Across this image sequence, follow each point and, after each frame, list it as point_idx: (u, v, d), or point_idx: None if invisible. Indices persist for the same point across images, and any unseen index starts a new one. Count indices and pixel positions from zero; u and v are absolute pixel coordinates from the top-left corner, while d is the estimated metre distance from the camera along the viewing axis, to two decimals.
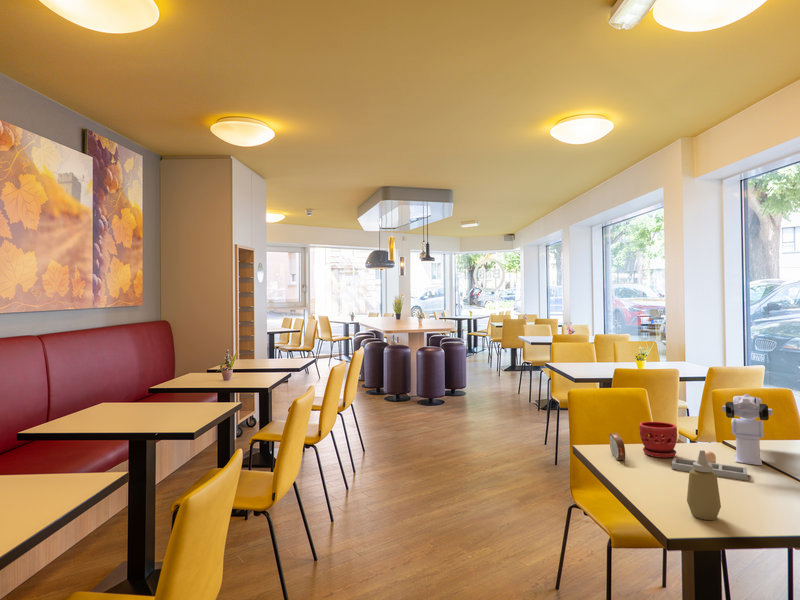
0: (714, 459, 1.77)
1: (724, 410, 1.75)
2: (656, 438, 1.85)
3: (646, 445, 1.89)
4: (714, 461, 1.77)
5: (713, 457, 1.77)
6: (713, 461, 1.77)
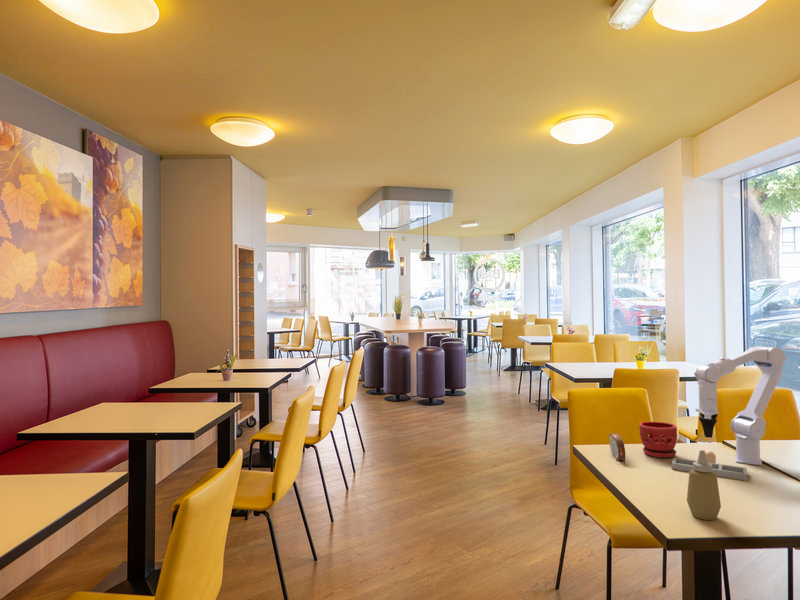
0: (714, 459, 1.77)
1: None
2: (656, 438, 1.85)
3: (646, 445, 1.89)
4: (714, 461, 1.77)
5: (713, 457, 1.77)
6: (713, 461, 1.77)
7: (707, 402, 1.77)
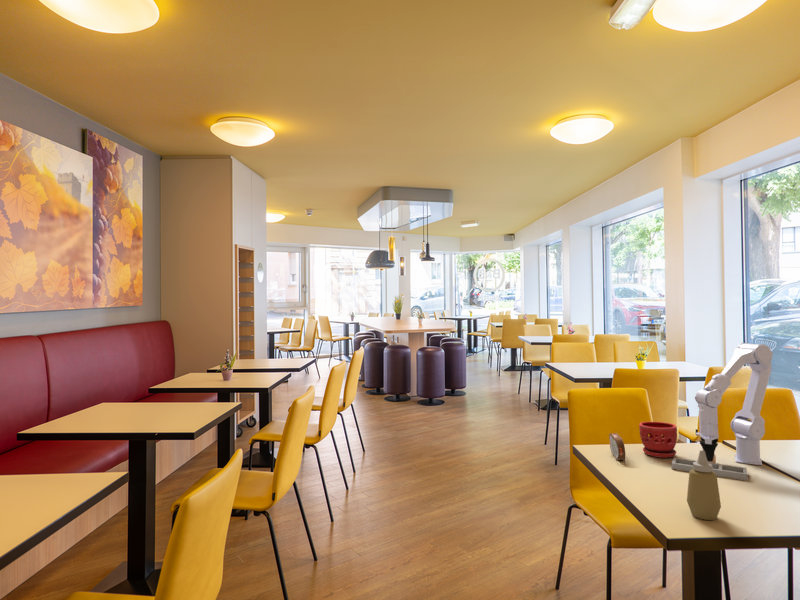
0: (714, 459, 1.77)
1: None
2: (656, 438, 1.85)
3: (646, 445, 1.89)
4: (714, 461, 1.77)
5: (713, 457, 1.77)
6: (713, 461, 1.77)
7: (707, 427, 1.77)
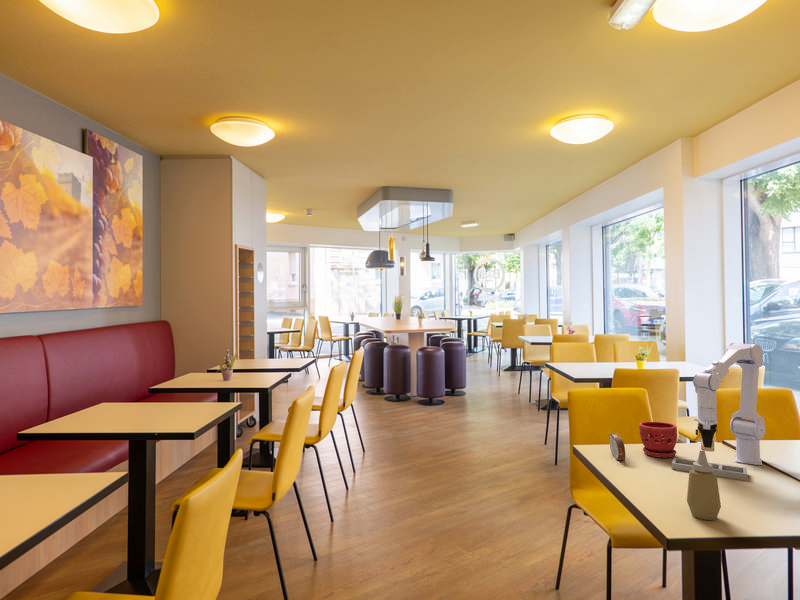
0: (713, 445, 1.68)
1: None
2: (656, 438, 1.85)
3: (646, 445, 1.89)
4: (713, 447, 1.68)
5: (712, 443, 1.68)
6: (711, 447, 1.68)
7: (706, 412, 1.68)
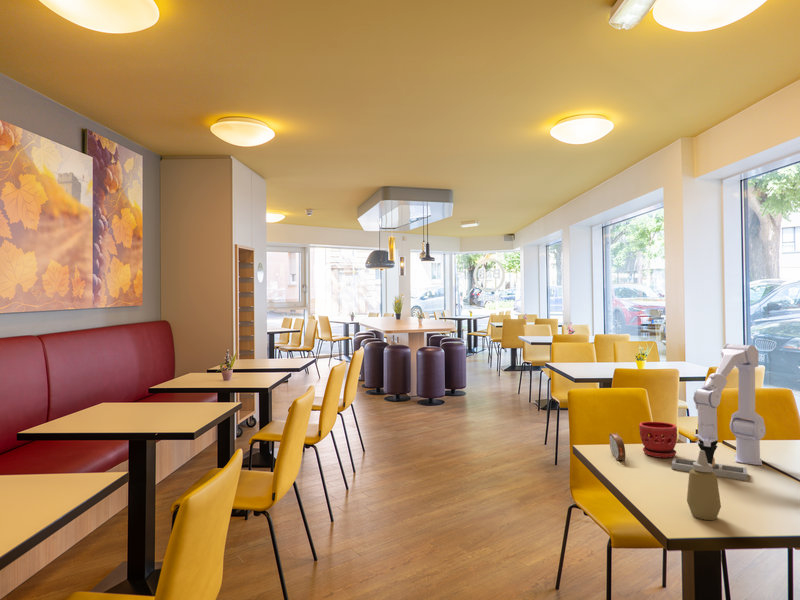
0: (713, 462, 1.68)
1: None
2: (656, 438, 1.85)
3: (646, 445, 1.89)
4: (713, 464, 1.68)
5: None
6: (712, 464, 1.68)
7: (706, 428, 1.68)
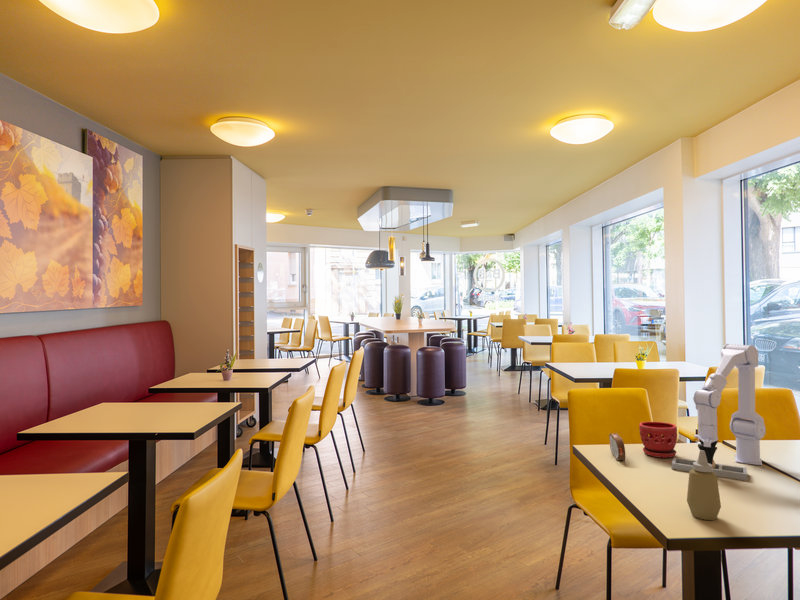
0: (713, 465, 1.68)
1: None
2: (656, 438, 1.85)
3: (646, 445, 1.89)
4: (713, 467, 1.68)
5: (712, 463, 1.68)
6: None
7: (706, 429, 1.68)
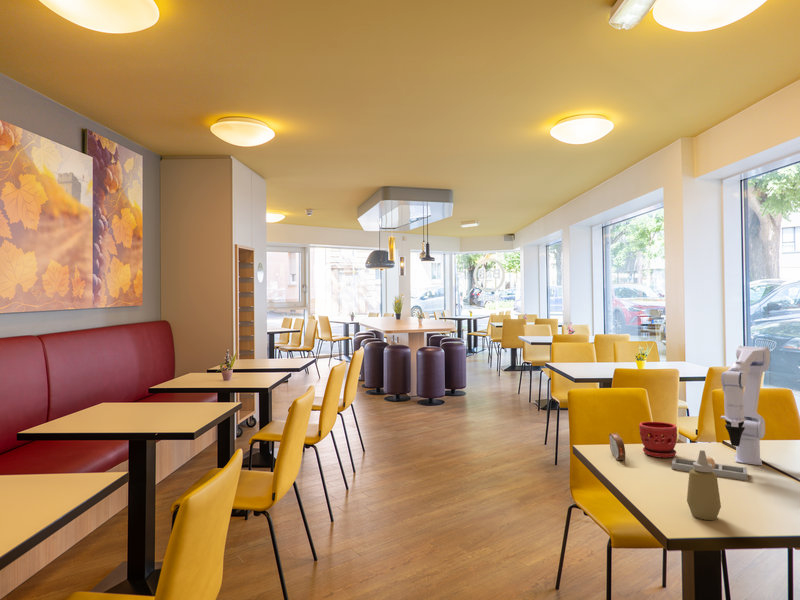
0: (713, 465, 1.68)
1: None
2: (656, 438, 1.85)
3: (646, 445, 1.89)
4: (713, 467, 1.68)
5: (712, 463, 1.68)
6: None
7: (733, 409, 1.69)
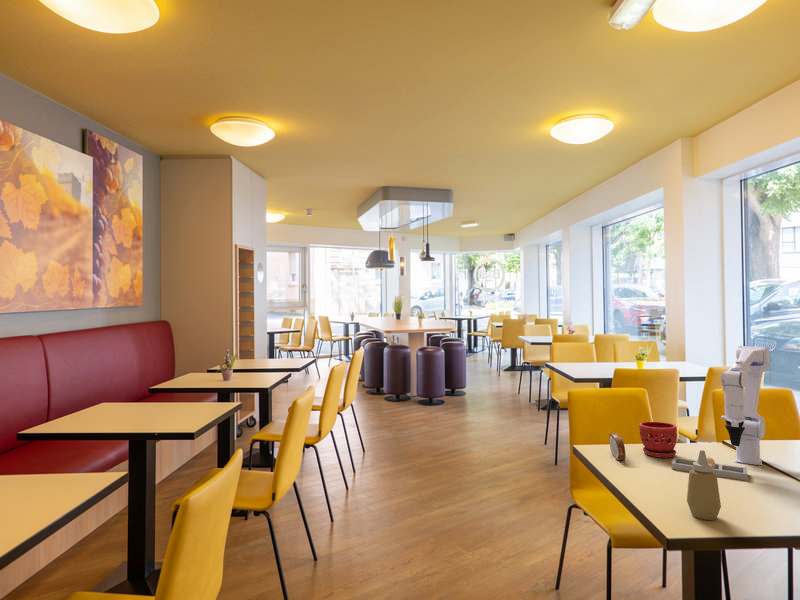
0: (713, 465, 1.68)
1: None
2: (656, 438, 1.85)
3: (646, 445, 1.89)
4: (713, 467, 1.68)
5: (712, 463, 1.68)
6: None
7: (733, 409, 1.69)
